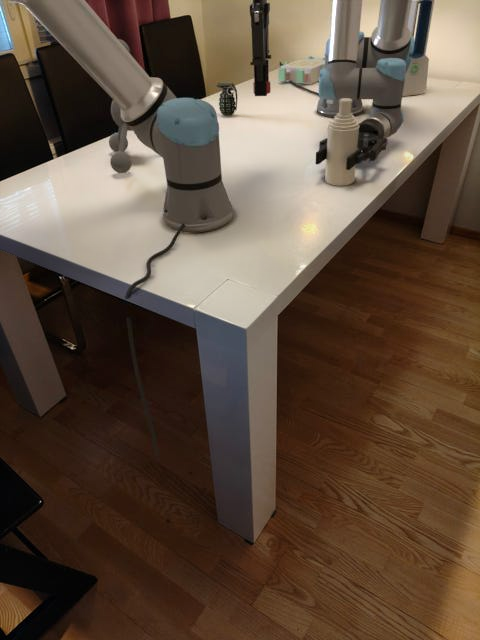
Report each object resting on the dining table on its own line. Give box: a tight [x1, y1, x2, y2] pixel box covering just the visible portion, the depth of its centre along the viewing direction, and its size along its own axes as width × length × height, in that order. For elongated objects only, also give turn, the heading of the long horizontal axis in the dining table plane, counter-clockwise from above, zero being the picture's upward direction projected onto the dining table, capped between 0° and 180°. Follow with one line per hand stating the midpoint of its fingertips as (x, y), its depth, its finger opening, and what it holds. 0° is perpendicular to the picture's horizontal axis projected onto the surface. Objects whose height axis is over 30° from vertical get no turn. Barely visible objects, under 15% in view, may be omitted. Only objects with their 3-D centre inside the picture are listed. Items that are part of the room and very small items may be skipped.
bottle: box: [324, 98, 360, 187], centre depth 114 cm, size 7×7×19 cm
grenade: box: [215, 82, 238, 117], centre depth 166 cm, size 7×6×10 cm
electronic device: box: [402, 0, 435, 97], centre depth 172 cm, size 12×8×30 cm, turn 105°
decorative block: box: [277, 55, 325, 85], centre depth 206 cm, size 26×6×20 cm
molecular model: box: [108, 38, 134, 174], centre depth 130 cm, size 24×22×30 cm
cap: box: [252, 80, 271, 95], centre depth 113 cm, size 4×4×2 cm
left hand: (261, 92), depth 114 cm, fingers closed on cap, 4 cm apart
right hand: (332, 161), depth 113 cm, fingers closed on bottle, 7 cm apart
